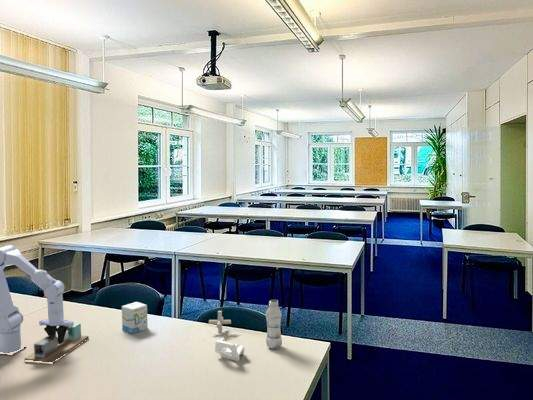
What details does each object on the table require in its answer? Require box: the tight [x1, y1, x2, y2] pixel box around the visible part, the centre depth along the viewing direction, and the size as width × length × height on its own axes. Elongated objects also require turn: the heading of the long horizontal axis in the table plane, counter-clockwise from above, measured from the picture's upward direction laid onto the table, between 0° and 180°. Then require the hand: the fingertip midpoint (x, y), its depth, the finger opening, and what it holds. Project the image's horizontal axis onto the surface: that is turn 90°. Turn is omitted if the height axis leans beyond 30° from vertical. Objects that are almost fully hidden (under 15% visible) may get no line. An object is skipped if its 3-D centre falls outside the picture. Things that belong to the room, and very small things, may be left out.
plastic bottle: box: [265, 299, 283, 350], centre depth 174 cm, size 6×7×20 cm
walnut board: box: [24, 335, 89, 362], centre depth 175 cm, size 12×24×2 cm, turn 170°
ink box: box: [121, 301, 149, 334], centre depth 196 cm, size 8×8×12 cm
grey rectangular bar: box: [41, 331, 69, 350], centre depth 173 cm, size 3×13×3 cm, turn 170°
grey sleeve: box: [33, 335, 58, 359], centre depth 168 cm, size 5×8×6 cm, turn 170°
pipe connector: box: [208, 310, 232, 334], centre depth 191 cm, size 10×10×10 cm
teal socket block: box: [66, 322, 82, 340], centre depth 184 cm, size 6×4×6 cm
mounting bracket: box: [214, 337, 245, 362], centre depth 167 cm, size 12×6×11 cm, turn 61°
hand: (57, 342), depth 174 cm, fingers closed on grey rectangular bar, 3 cm apart
